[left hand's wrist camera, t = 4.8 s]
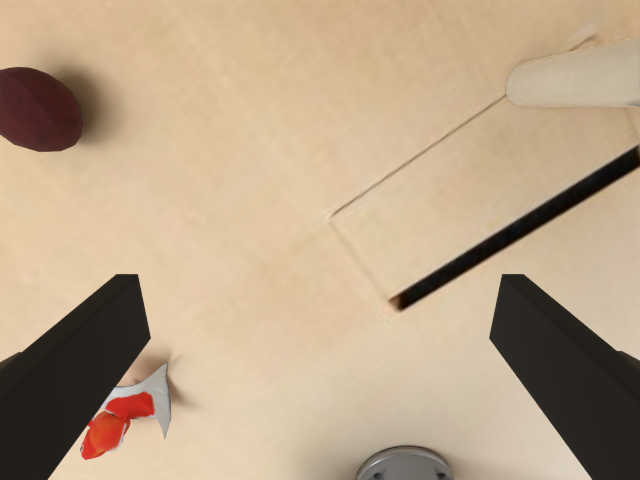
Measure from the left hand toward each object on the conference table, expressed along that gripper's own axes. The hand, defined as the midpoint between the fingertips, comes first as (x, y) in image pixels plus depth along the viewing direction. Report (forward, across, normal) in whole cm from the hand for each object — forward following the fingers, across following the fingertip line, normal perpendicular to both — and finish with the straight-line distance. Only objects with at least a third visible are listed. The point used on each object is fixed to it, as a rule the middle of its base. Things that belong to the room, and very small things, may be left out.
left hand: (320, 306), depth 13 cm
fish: (+28, +26, +30) cm, 49 cm away
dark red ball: (+28, +27, -6) cm, 39 cm away
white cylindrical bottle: (+28, -21, -9) cm, 36 cm away
